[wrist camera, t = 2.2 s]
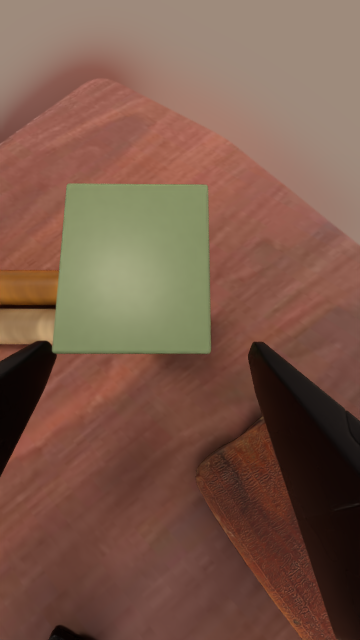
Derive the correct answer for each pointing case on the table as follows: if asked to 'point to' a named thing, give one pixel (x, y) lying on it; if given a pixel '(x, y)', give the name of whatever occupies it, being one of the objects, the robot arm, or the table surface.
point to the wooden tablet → (264, 526)
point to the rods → (27, 291)
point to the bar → (134, 270)
